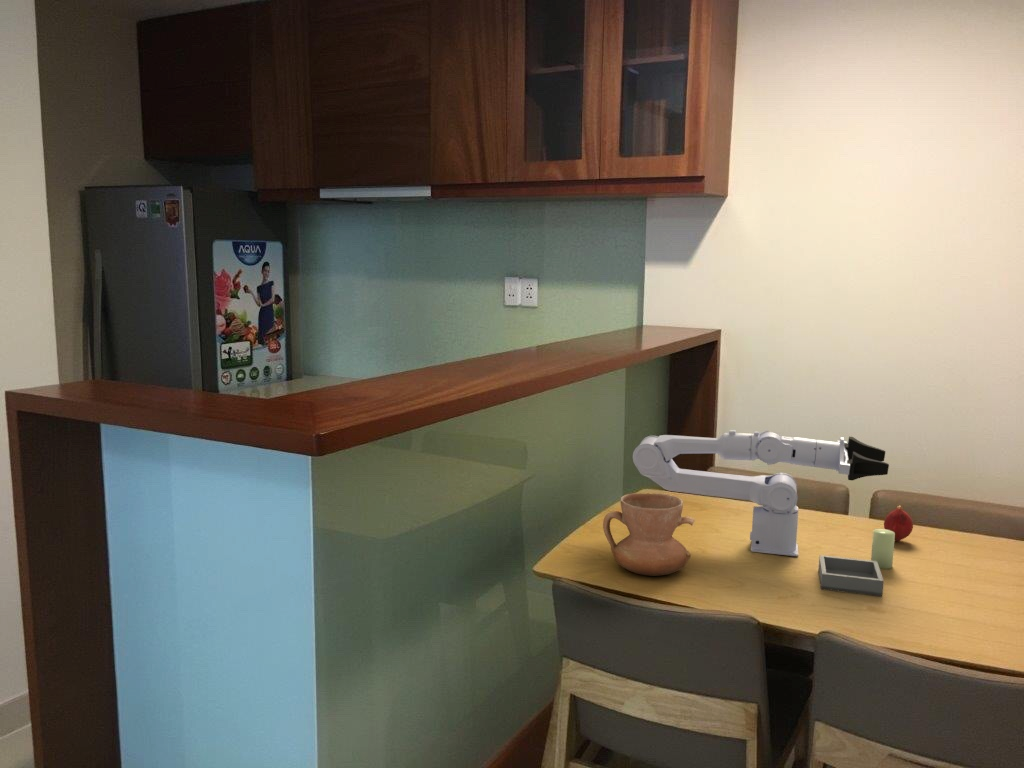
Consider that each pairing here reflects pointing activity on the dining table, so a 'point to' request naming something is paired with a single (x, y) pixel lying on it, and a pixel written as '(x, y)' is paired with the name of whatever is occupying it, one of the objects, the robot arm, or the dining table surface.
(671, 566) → the ceramic jug
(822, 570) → the tray
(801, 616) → the dining table surface
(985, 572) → the dining table surface
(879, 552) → the pale green cylinder
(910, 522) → the onion
